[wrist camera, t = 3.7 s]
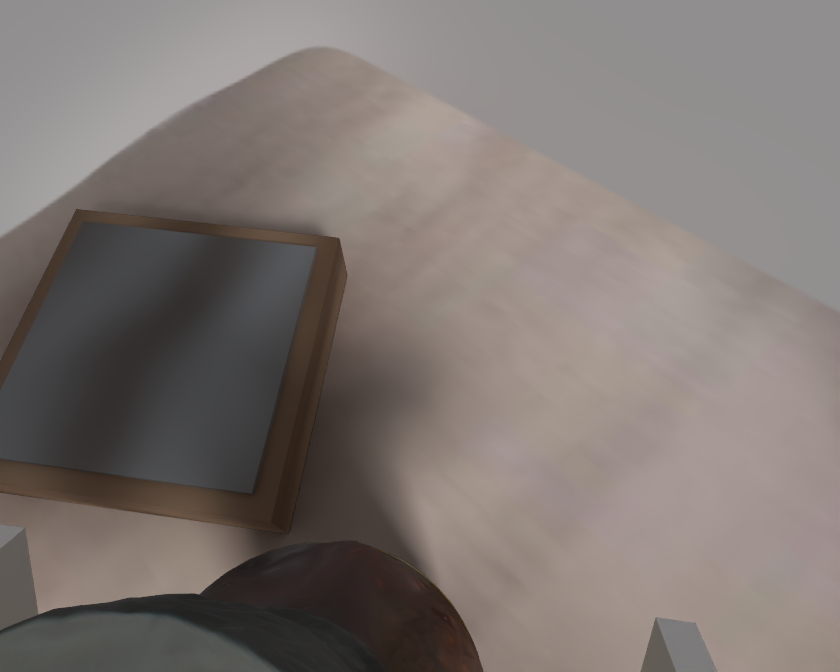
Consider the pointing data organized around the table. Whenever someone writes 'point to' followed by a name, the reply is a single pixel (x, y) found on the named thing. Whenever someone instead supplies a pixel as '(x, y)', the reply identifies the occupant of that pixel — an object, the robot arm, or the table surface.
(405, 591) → the sauce bottle
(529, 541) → the table surface
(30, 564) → the robot arm
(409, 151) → the table surface
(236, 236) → the pedestal
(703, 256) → the table surface
